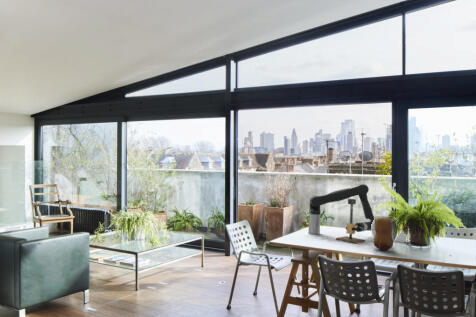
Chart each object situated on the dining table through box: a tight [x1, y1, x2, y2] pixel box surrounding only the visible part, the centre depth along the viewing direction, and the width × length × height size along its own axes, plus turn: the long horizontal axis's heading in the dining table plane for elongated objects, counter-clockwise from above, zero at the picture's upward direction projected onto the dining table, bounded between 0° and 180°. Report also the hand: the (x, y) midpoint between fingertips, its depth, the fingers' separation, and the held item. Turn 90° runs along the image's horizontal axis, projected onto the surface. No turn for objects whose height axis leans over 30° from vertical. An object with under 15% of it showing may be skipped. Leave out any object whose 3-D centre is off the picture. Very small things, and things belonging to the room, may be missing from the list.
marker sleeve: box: [345, 222, 356, 235], centre depth 344 cm, size 5×5×8 cm
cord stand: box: [335, 198, 366, 244], centre depth 344 cm, size 18×14×34 cm
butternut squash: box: [373, 216, 394, 252], centre depth 311 cm, size 14×13×25 cm
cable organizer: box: [394, 231, 406, 243], centre depth 348 cm, size 15×11×12 cm
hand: (349, 228), depth 342 cm, fingers closed on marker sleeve, 5 cm apart
